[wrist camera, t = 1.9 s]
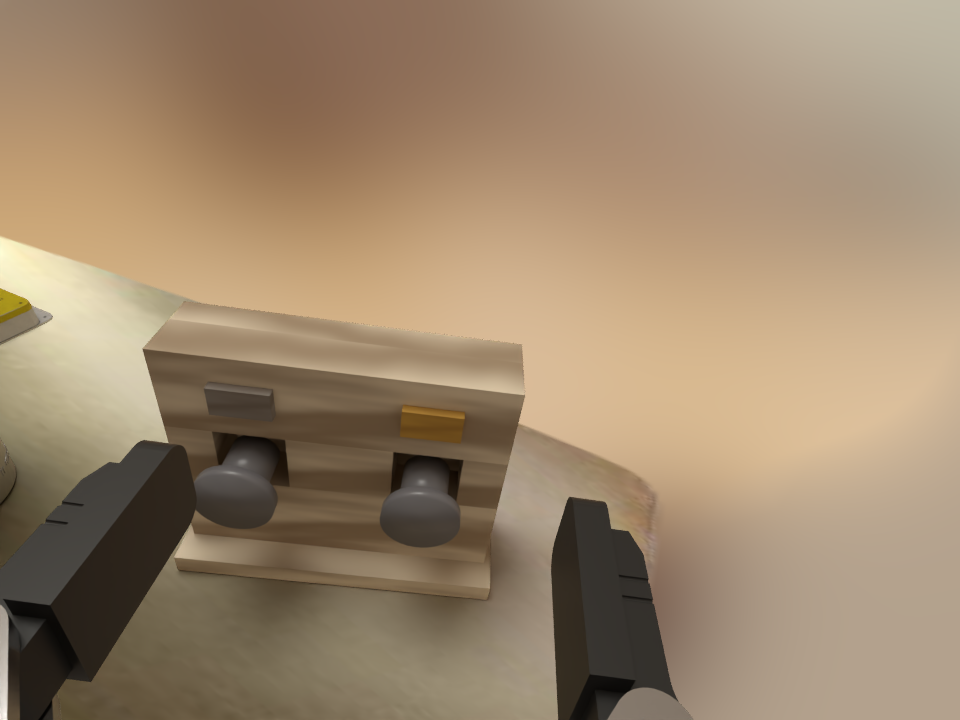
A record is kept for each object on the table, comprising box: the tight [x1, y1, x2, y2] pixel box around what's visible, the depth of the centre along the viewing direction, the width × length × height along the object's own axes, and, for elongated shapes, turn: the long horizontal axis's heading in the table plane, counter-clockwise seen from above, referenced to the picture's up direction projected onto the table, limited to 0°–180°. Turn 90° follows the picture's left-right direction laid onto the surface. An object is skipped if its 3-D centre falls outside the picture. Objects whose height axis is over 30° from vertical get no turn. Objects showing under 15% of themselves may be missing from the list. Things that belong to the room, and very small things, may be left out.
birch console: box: [143, 301, 525, 600], centre depth 38 cm, size 8×22×18 cm, turn 89°
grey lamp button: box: [194, 435, 280, 529], centre depth 34 cm, size 4×5×5 cm
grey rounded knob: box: [380, 455, 461, 548], centre depth 35 cm, size 4×5×5 cm
